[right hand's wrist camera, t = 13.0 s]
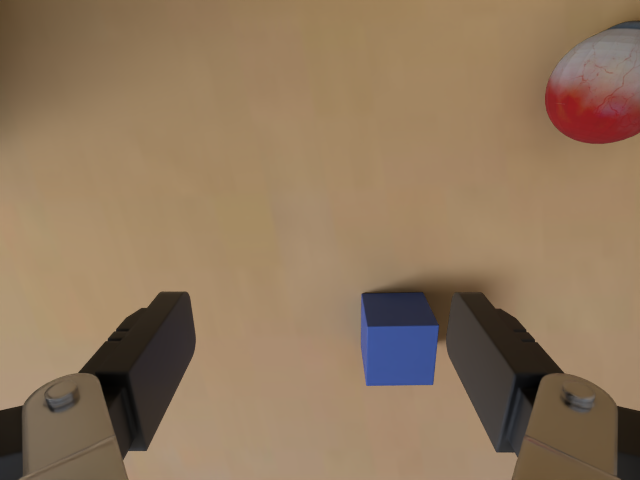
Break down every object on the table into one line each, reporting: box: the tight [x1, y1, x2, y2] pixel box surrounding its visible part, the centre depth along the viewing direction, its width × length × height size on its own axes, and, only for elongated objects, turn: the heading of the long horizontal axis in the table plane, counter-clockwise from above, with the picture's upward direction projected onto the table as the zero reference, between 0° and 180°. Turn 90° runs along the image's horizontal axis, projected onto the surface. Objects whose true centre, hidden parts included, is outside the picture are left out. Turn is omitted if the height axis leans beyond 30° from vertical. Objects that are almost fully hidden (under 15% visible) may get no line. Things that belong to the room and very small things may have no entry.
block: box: [361, 292, 439, 386], centre depth 28 cm, size 5×5×5 cm
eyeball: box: [545, 21, 640, 144], centre depth 21 cm, size 6×6×6 cm
